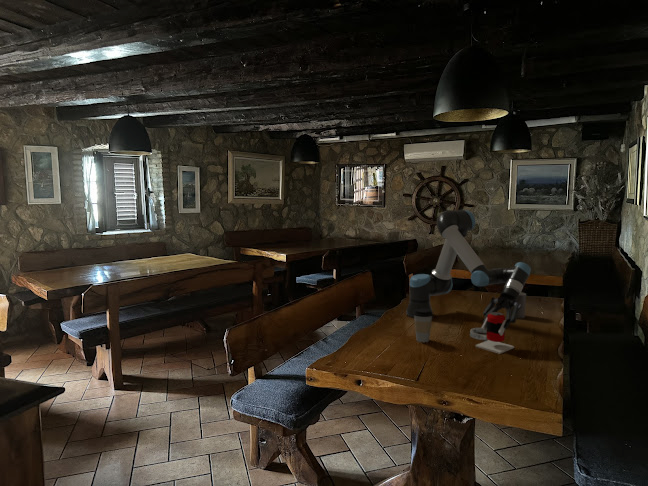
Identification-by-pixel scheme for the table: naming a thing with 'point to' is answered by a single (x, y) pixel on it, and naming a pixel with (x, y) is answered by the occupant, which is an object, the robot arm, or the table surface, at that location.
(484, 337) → the steel ring holder
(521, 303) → the pillar candle
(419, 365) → the table surface
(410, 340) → the table surface
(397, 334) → the table surface
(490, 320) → the soda can
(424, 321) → the coffee cup
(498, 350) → the cream coaster
